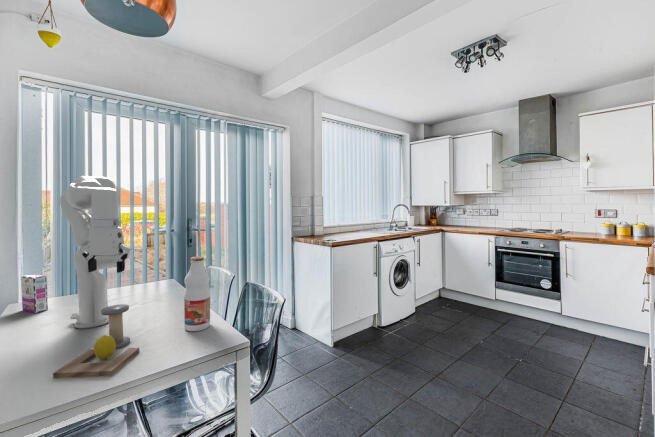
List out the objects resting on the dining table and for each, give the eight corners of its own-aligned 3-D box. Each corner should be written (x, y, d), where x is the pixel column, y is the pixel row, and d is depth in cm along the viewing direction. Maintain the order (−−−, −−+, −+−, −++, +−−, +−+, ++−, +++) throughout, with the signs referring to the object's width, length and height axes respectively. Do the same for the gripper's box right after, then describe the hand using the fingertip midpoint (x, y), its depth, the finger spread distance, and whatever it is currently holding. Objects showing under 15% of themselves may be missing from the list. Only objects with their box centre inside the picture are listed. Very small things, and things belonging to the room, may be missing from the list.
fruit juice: (215, 325, 121) (214, 256, 120) (194, 334, 113) (193, 260, 112) (200, 320, 126) (200, 254, 125) (179, 328, 118) (178, 257, 117)
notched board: (53, 378, 85) (52, 373, 85) (89, 353, 99) (89, 349, 99) (111, 376, 86) (111, 370, 86) (139, 351, 100) (139, 347, 100)
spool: (96, 350, 101) (95, 312, 100) (112, 339, 109) (110, 304, 108) (121, 349, 102) (119, 312, 101) (135, 339, 110) (133, 304, 109)
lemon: (119, 355, 98) (118, 331, 98) (109, 363, 93) (108, 338, 92) (101, 356, 97) (100, 331, 97) (90, 365, 92) (89, 339, 92)
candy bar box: (49, 310, 141) (47, 275, 140) (35, 313, 136) (33, 277, 135) (35, 307, 145) (33, 273, 144) (21, 310, 140) (19, 275, 139)
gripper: (136, 223, 109) (137, 269, 111) (87, 221, 109) (89, 268, 110) (123, 225, 102) (125, 274, 103) (71, 224, 101) (73, 273, 103)
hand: (106, 271), depth 107 cm, fingers open, 9 cm apart
